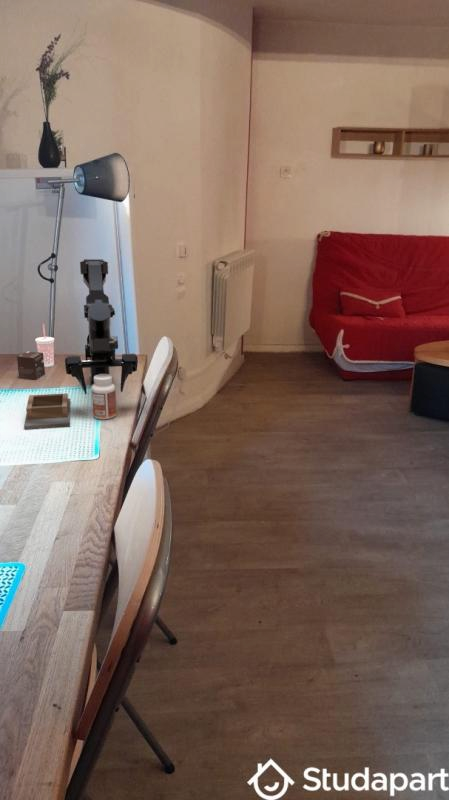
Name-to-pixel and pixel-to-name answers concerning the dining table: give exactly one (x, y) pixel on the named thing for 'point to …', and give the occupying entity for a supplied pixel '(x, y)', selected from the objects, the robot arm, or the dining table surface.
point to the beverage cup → (46, 349)
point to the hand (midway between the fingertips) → (103, 392)
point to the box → (31, 365)
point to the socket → (47, 411)
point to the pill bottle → (103, 397)
